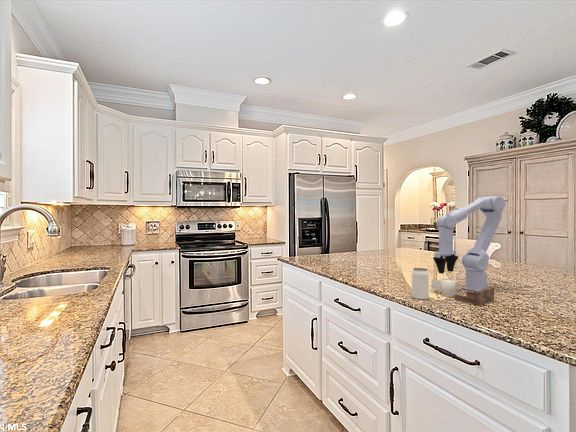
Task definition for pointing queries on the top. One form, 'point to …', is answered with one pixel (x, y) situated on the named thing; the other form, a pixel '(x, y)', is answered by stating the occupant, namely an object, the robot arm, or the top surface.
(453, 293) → the jug
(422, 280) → the can
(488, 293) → the holder
